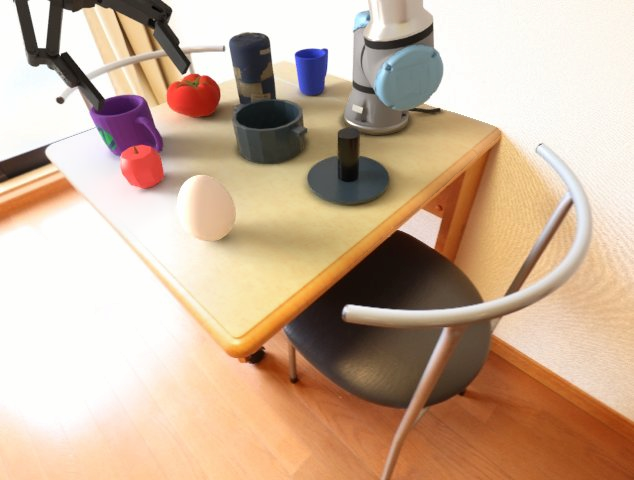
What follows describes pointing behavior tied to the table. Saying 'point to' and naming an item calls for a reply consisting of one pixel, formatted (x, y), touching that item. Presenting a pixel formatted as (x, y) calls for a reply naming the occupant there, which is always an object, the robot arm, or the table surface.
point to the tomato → (194, 95)
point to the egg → (205, 208)
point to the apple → (142, 166)
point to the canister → (252, 67)
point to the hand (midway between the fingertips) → (147, 86)
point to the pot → (269, 130)
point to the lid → (348, 173)
